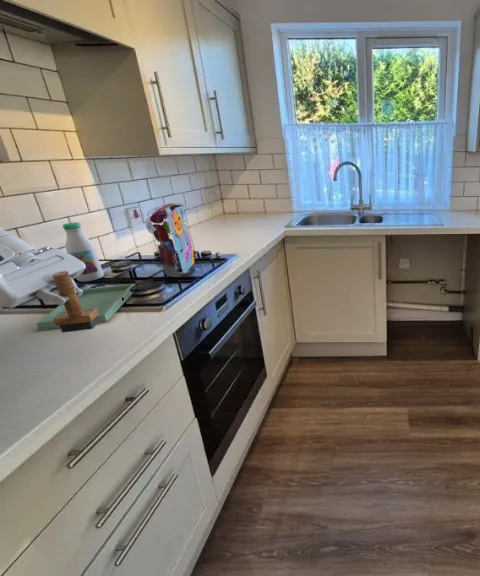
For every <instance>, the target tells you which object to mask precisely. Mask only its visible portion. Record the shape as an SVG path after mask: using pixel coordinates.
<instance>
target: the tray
mask: <svg viewBox="0 0 480 576" xmlns="http://www.w3.org/2000/svg"><path fill="white" fill-rule="evenodd" d="M134 286H136V283H126V284H117V285H109V286H99V287H90V288H82V289H81V288H80V289H81V290H82V291H83V293H82V294H81V295H80V296H78V299H79V301H80V304H81V307H82V309H83V310H85V309H94V308H97V310H98V312H99V315H98V316H97V318H98V321H99V322H98V323H97V324H99V323H106V322H108V321H109V320H110V319H111V318H112V317H113V316H114V315H115V314H116V312H118V310H119V309H120V308H121V307H122V306H123V305H124V304H125V303H126V301H127V300H129V299H130V297H131V296H132V295H133V294H134V293H131V292H130V289H131V288H132V287H134ZM122 297H123V298H124V300H123V301H122ZM62 312H67V311H66V309H65V306H64V305H62V306H60V305H58V306H56V307H55V308H54V309H53V310H51V311H50V312H49V313H48V314H46V315H45V316H43V318H41V319H40V320H38V321H37V322H36V326H37V328H38V331H44V330H45V331H46V330H53V329H61V328H60V326H59V325H58V326H56V324H55V322H54V319H55V318H56V317H57V316H58V315H60V314H61V313H62Z"/></svg>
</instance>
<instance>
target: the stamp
mask: <svg viewBox="0 0 480 576" xmlns="http://www.w3.org/2000/svg"><path fill="white" fill-rule="evenodd" d="M52 276H53V279H54V281H55V284H56V286H57V287H56V289H57V291H58V295H61V294H64V295H65V296H66V297H68V298H69V301H68V302H67V303H66V304H64V306H65V309H66V311H67V312H62V313H61V314H60V315H58V316H57V317H56V318H55V319H54V322H55V324H56V326H58V325H59V326H60V328H59V329H60V331H61V333H62V334H63V333H70V332H78V331H79V332H80V331H85V330H93V329H94V328H95V327H96V326H97V325H98V324H99V323H98V322H99V321H98V318H97V316H98V315H99V312H98V310H97V308H94V309H85V310H83V309H82V307H81V304H80V301H79V299H78V296H77V293H76V291H75V288H74V286H73V283H72V280H71V278H70V275H69V272H68V271H62V272H57V273H54V274H52Z"/></svg>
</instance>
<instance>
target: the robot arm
mask: <svg viewBox="0 0 480 576" xmlns="http://www.w3.org/2000/svg"><path fill="white" fill-rule="evenodd" d="M85 268H86V266H85V264H84V263H83V262H82V261H80V260H79V259H77V258H75V257H74V256H72V255H70V254H68V253H67V251H65V250H62V249H60V248H57V247H49V246H44V247H41V248H39V249H37V248H36V247H34V246H33V245H31V244H29V243H28V242H27V241H25V240H24V239H23V238H21V237H19V236H18V235H16V234H15V233H12V232H10V231H7V230H5V229H4V228H3V227H1V226H0V307H2V308H6V309H13V308H16V307H17V306H20V305H22V304H25V303H26V302H28V301H30V300H32V299H34V298H36V297H37V298H39V299H40V300H42V301H47V302H52V303H55V304H56V305H58V306H59V305H60V306H62V305H64V304H66V303H67V302H68V301H69V298H68V297H66V296H65V295H64V294H61V295H60V294H59V293H55V292H52V291H51V290H53V289H55V288H57V286H56V284H55V281H54V279H53V276H52V274H54V273H57V272H62V271H68V272H69V275H70V278H71V280H72V283H73V286H74V288H75V291H76V293H77V296H80V295H81V294H82V293H83V291H82V290H81V288H80V287H78V286H77V283H76V282H75V280H74V279H77V278H76V277H78V276H80V275H81V274H82V273H83V271H84V270H85Z"/></svg>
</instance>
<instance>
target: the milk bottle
mask: <svg viewBox="0 0 480 576" xmlns="http://www.w3.org/2000/svg"><path fill="white" fill-rule="evenodd" d="M62 228H63V230H64V232H65V233H66V240H65V252H66V253H68V254H70V255H72V256H74V257H75V258H77V259H79V260H80V261H82V262H83V263H84V264H85V266H86V268H85V270H84V271H83V273H82V274H81V275H80V276H78V277H76V278H75V279H76V280H77V282H82V283H86V282H92V281H97V280H99V279H101V278H103V277H104V271H103V269H102V266H101V263H100V259H99V257H98V254H97V251H96V248H95V246H94V244H93V243H92V241H91V240H90V239H89V238H88V237H87V236H86V235H85V233H84V231H82V225H81V223H80V222H78V221H77V222H75V221H74V222H68V223H64V224H63V225H62Z"/></svg>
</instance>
